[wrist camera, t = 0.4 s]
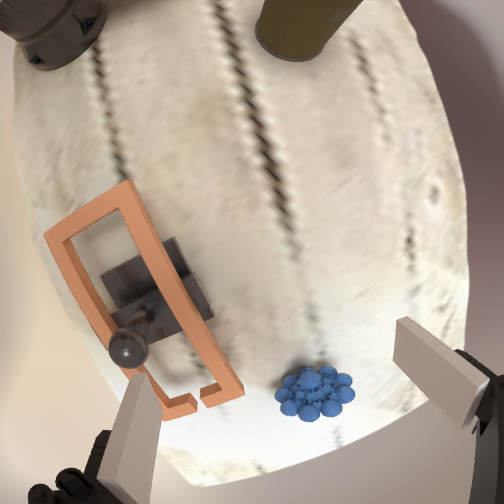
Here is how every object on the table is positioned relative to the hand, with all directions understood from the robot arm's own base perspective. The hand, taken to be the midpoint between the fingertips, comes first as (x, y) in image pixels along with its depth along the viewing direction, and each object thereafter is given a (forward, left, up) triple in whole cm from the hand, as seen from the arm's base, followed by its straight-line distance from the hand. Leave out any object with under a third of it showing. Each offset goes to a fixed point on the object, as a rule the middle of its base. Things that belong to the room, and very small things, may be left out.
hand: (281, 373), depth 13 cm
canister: (-27, +20, -26) cm, 43 cm away
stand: (0, -13, -26) cm, 29 cm away
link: (0, -13, -18) cm, 22 cm away
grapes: (+21, +1, -26) cm, 33 cm away
